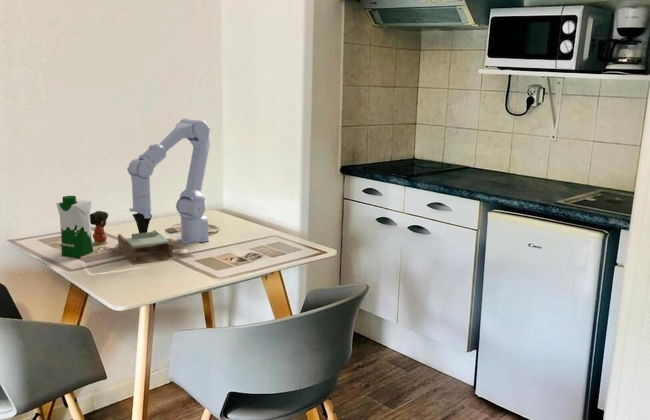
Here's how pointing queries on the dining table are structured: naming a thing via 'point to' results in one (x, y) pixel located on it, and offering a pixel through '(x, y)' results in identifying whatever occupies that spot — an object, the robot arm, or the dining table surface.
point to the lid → (146, 239)
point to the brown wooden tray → (152, 251)
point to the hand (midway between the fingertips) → (143, 234)
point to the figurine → (99, 227)
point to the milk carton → (75, 227)
